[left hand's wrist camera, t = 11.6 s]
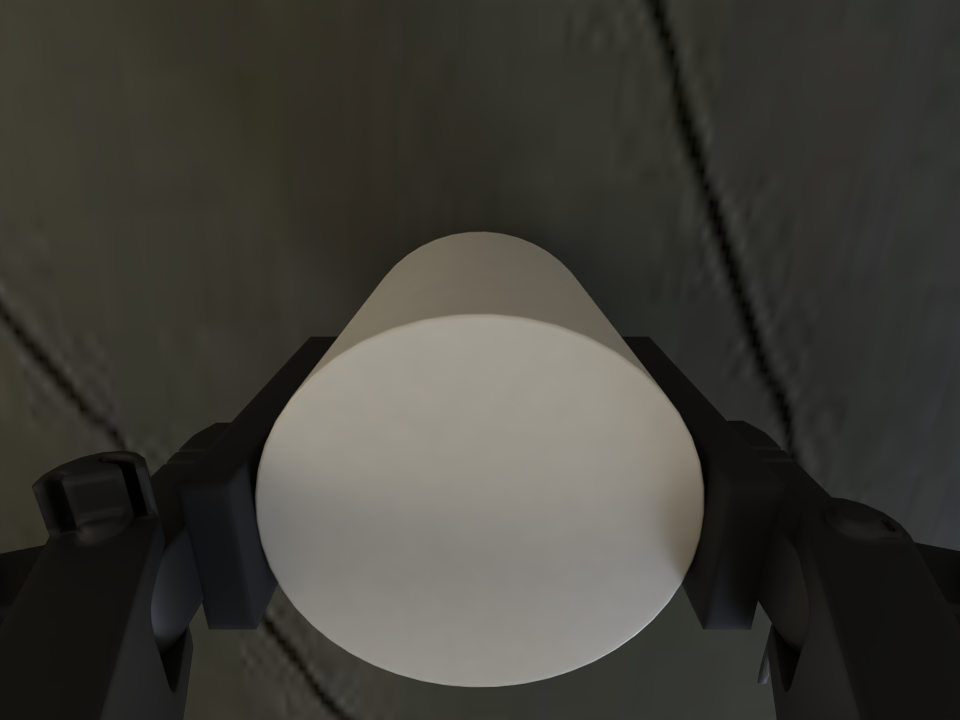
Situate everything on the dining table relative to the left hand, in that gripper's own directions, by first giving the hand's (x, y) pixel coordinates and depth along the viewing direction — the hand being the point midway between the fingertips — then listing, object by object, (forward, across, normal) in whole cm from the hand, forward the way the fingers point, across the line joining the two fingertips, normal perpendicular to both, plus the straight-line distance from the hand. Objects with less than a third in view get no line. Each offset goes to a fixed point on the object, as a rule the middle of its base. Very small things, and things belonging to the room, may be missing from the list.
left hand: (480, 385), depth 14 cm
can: (+2, 0, 0) cm, 2 cm away
